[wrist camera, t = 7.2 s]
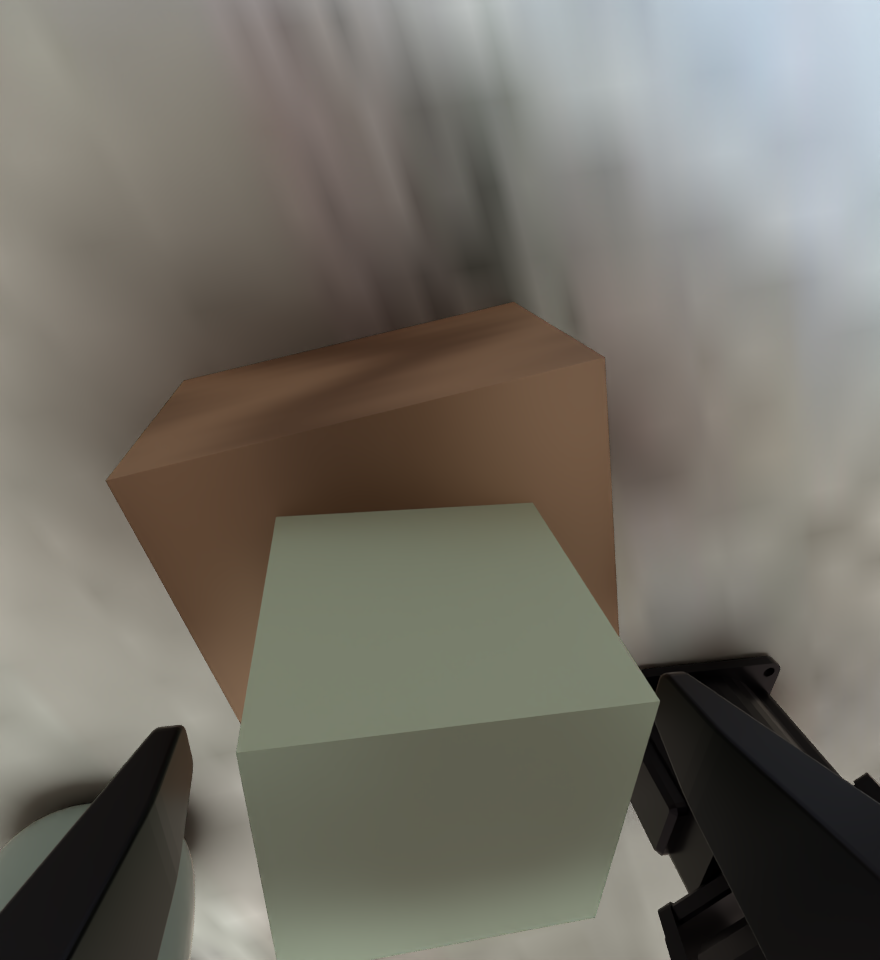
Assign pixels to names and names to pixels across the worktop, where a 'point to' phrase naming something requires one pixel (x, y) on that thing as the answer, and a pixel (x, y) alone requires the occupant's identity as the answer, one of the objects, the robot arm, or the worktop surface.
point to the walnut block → (368, 458)
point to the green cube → (433, 732)
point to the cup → (28, 849)
